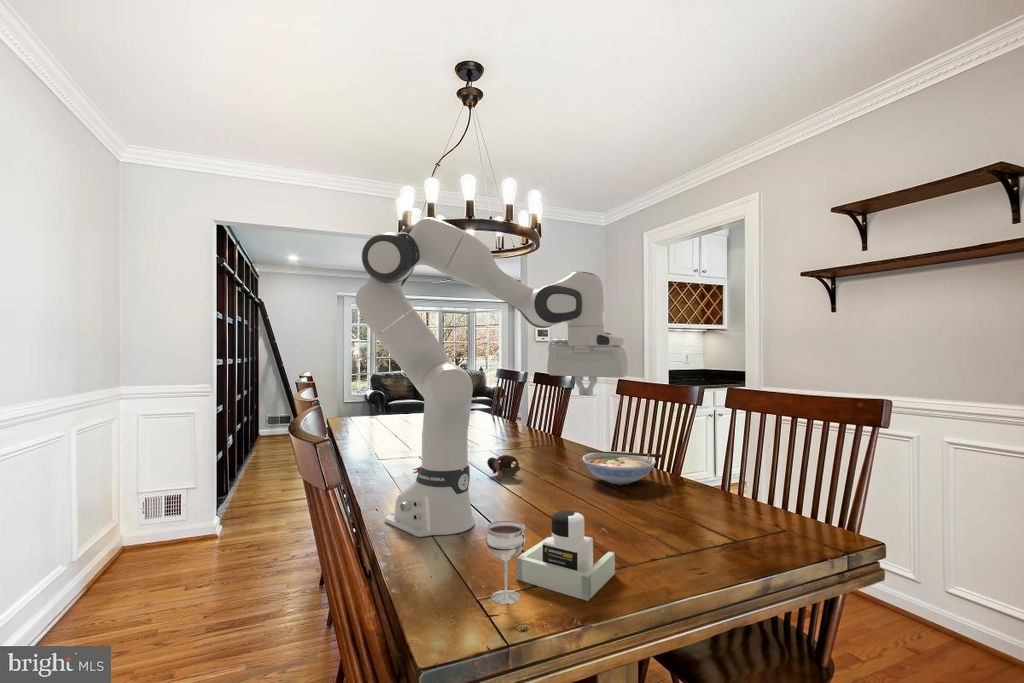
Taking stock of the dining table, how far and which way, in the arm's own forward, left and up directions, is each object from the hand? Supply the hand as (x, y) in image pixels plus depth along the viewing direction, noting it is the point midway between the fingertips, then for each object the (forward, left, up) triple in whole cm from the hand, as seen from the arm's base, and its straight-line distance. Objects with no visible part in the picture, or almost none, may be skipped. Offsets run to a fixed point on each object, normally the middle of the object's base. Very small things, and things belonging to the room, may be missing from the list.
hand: (585, 395), depth 122 cm
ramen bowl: (-7, +39, -31) cm, 51 cm away
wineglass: (+4, -41, -31) cm, 51 cm away
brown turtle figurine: (-41, +24, -31) cm, 57 cm away
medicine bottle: (+10, -28, -31) cm, 43 cm away
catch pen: (+9, -28, -31) cm, 43 cm away
